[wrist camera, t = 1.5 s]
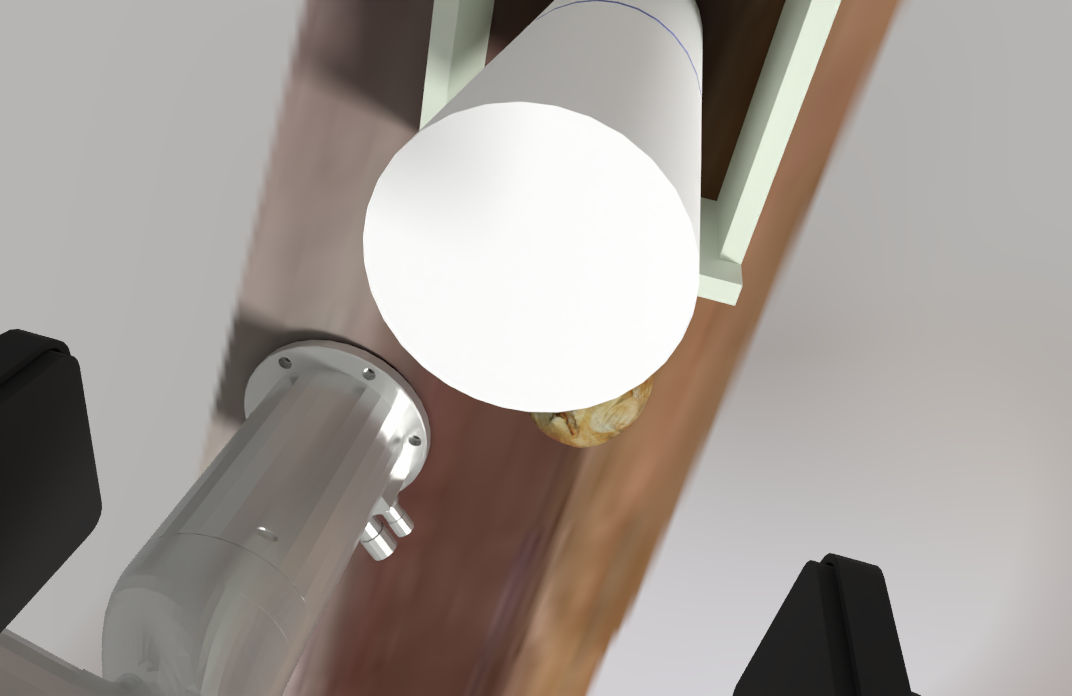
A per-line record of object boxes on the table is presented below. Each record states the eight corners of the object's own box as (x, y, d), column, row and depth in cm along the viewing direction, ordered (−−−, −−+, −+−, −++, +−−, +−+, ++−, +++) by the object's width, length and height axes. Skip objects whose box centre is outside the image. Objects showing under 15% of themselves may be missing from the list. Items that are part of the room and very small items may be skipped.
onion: (501, 359, 48) (469, 440, 42) (567, 260, 44) (543, 333, 37) (606, 420, 49) (591, 508, 43) (681, 329, 45) (677, 411, 38)
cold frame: (729, 223, 41) (734, 305, 34) (452, 152, 42) (397, 217, 34) (845, -101, 33) (887, -88, 26) (499, -183, 34) (440, -193, 26)
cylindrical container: (722, -25, 35) (746, 148, 15) (679, 130, 39) (651, 443, 18) (566, -58, 36) (371, 65, 15) (539, 99, 40) (356, 371, 19)
